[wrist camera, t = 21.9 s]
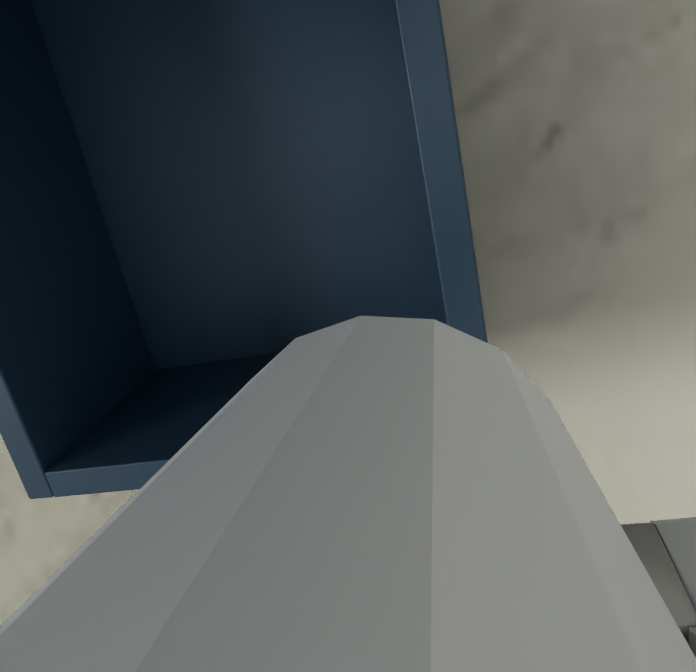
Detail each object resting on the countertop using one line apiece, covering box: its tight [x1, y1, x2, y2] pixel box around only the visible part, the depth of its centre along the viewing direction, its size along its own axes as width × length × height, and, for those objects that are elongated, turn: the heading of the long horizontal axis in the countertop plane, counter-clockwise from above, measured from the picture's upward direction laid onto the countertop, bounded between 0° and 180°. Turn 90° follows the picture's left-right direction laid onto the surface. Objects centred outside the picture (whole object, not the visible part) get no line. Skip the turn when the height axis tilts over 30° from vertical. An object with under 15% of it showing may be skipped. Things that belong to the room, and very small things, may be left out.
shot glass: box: [0, 316, 696, 672], centre depth 7 cm, size 7×7×7 cm
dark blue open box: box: [0, 0, 488, 499], centre depth 21 cm, size 18×16×10 cm
